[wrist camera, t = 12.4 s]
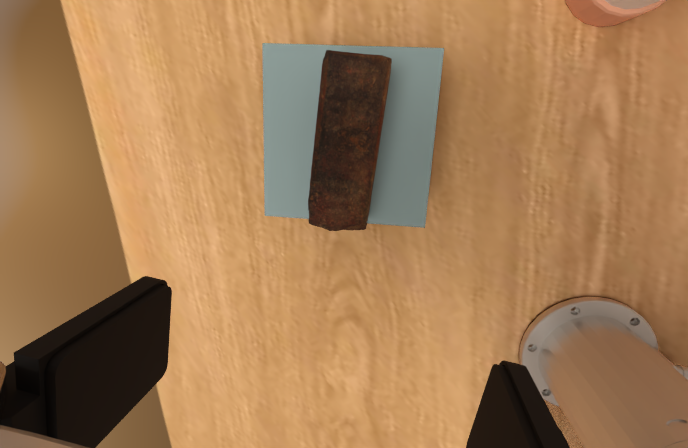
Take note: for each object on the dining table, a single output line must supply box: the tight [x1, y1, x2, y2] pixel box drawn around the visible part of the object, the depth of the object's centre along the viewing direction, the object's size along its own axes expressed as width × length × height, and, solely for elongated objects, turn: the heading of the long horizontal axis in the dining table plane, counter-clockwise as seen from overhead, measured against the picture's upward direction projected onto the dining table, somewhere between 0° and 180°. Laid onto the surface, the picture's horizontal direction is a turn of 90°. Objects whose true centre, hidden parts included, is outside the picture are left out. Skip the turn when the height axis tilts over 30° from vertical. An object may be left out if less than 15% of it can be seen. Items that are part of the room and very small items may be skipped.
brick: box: [308, 50, 392, 231], centre depth 24 cm, size 11×4×5 cm, turn 172°
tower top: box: [263, 43, 444, 228], centre depth 29 cm, size 12×12×5 cm
